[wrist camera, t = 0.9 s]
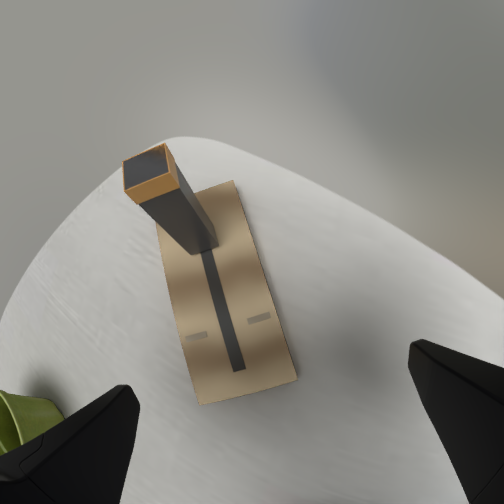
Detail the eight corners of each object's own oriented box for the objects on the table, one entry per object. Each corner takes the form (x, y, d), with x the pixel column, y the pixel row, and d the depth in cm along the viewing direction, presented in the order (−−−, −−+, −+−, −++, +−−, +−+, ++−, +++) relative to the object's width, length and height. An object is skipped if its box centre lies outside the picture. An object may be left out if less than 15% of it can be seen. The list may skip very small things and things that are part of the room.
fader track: (297, 376, 22) (298, 380, 20) (206, 401, 22) (199, 405, 20) (236, 190, 28) (232, 179, 26) (161, 217, 28) (153, 208, 26)
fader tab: (219, 246, 24) (169, 172, 13) (190, 256, 24) (123, 191, 13) (213, 224, 24) (164, 142, 14) (185, 233, 25) (122, 161, 14)
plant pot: (22, 381, 24) (-30, 379, 16) (70, 386, 24) (11, 389, 16) (36, 450, 21) (-12, 460, 13) (87, 464, 21) (35, 485, 13)
